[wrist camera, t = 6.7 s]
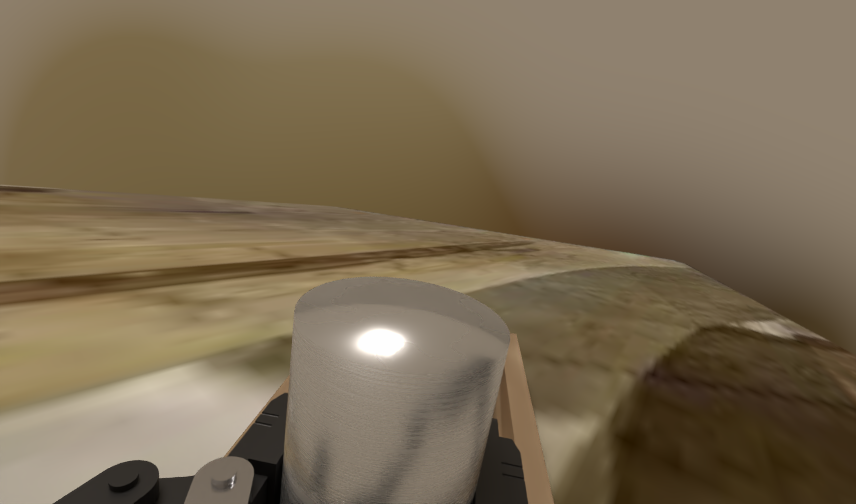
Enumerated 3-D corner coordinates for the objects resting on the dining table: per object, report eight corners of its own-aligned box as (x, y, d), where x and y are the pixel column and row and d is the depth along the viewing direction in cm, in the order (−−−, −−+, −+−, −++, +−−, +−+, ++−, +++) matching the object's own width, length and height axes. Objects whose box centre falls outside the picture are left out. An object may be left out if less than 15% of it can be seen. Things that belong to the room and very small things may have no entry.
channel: (506, 376, 30) (516, 334, 30) (539, 614, 15) (562, 540, 14) (343, 345, 31) (347, 302, 30) (215, 539, 16) (217, 464, 15)
